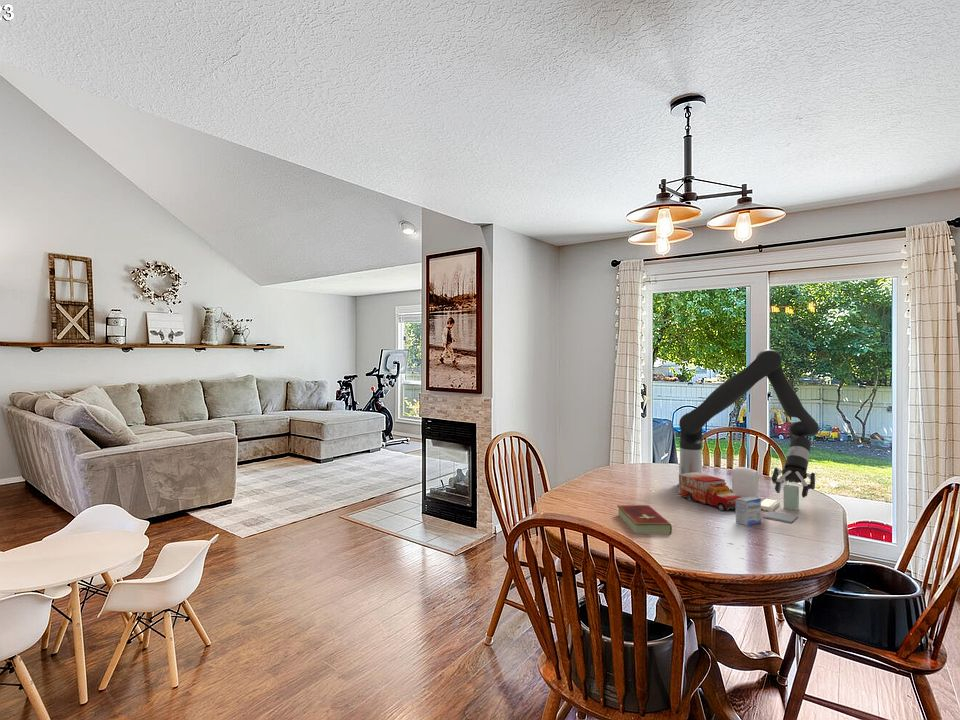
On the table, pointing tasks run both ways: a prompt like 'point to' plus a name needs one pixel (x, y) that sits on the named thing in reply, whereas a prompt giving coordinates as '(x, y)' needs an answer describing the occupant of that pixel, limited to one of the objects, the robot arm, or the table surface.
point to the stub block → (791, 497)
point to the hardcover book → (644, 519)
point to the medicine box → (748, 510)
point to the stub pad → (780, 516)
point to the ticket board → (769, 504)
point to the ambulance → (707, 490)
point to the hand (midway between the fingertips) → (790, 494)
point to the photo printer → (745, 482)
